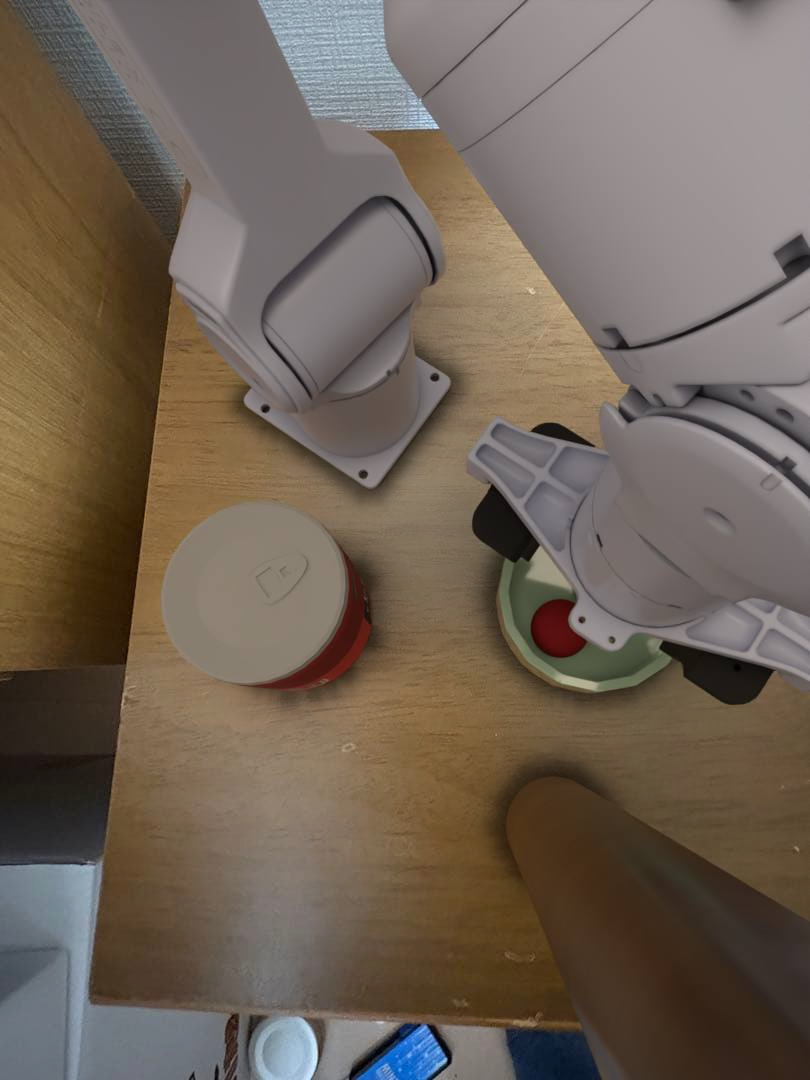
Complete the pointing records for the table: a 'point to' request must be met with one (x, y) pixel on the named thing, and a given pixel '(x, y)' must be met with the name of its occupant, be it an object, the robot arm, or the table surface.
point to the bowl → (589, 667)
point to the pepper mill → (661, 945)
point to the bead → (556, 629)
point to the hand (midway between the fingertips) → (604, 586)
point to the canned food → (265, 599)
